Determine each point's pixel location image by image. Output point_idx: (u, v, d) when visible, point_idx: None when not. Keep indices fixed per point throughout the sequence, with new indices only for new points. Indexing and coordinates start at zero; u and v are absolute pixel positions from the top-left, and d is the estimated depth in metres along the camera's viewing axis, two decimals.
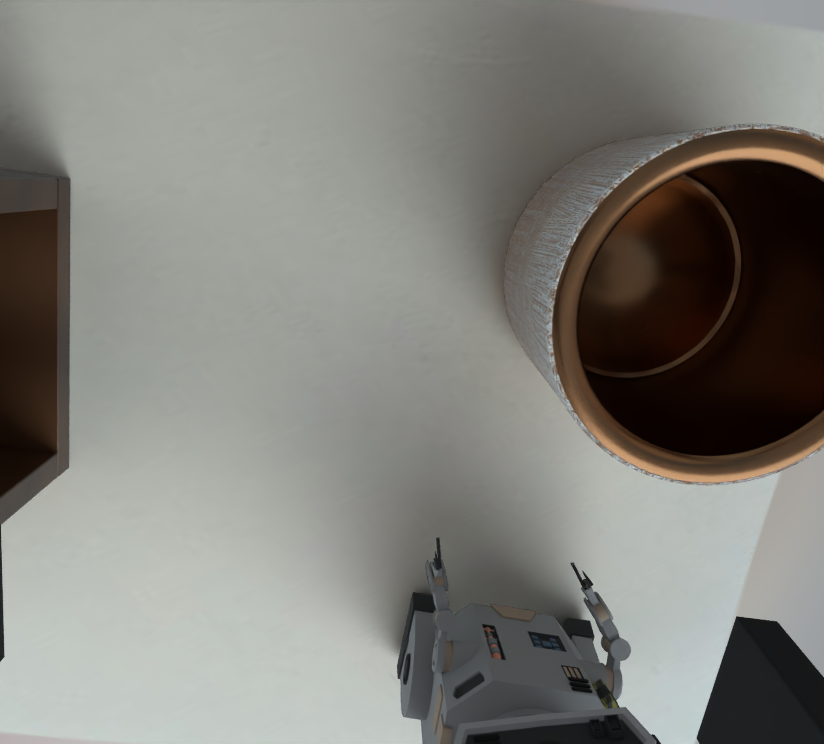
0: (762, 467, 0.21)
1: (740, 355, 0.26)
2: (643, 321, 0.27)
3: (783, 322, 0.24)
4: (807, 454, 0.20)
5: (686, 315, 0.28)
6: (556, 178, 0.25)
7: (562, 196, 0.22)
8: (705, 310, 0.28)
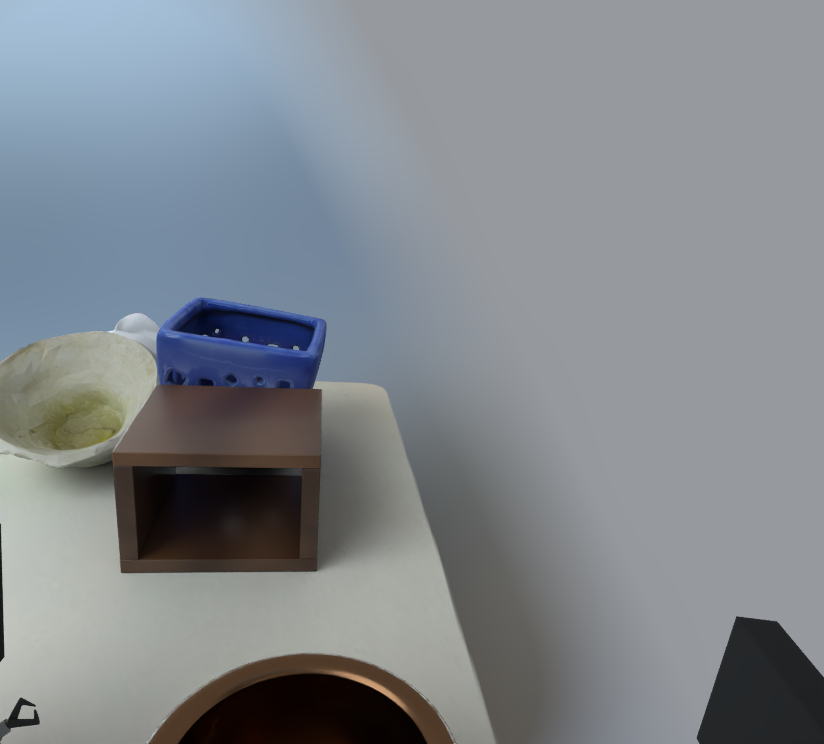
0: None
1: None
2: None
3: None
4: None
5: None
6: None
7: None
8: None
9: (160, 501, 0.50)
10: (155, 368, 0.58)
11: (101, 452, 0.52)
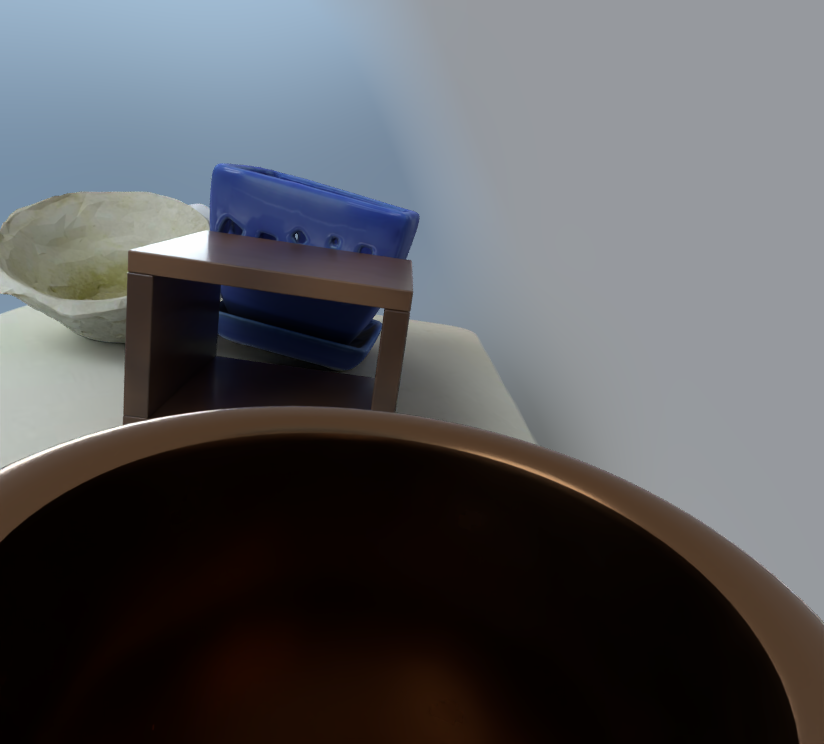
0: None
1: None
2: None
3: None
4: None
5: None
6: None
7: None
8: None
9: (190, 369, 0.38)
10: None
11: None
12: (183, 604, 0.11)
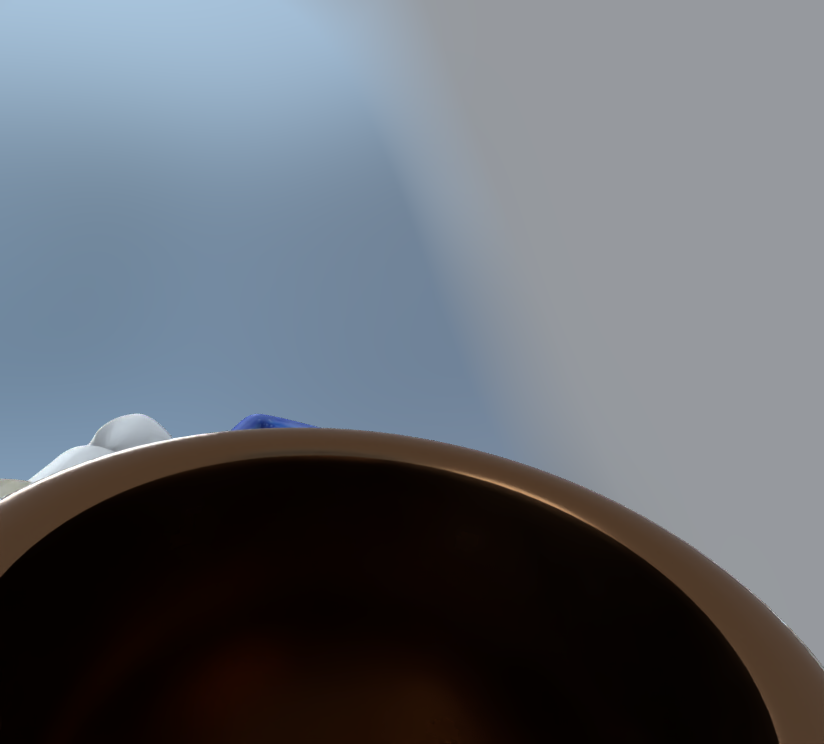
0: None
1: None
2: None
3: None
4: None
5: None
6: None
7: None
8: None
9: None
10: None
11: None
12: (182, 624, 0.12)
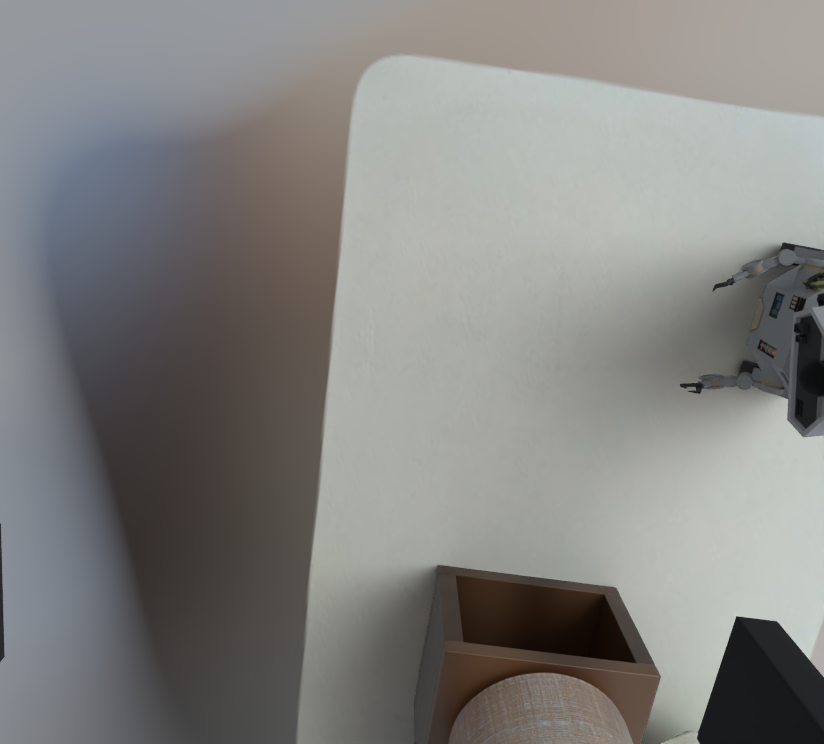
0: None
1: None
2: None
3: None
4: None
5: None
6: None
7: None
8: None
9: None
10: None
11: None
12: None
